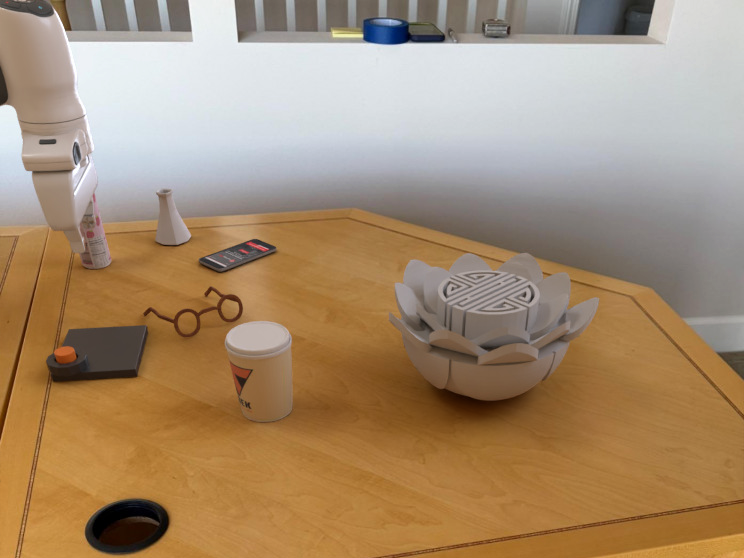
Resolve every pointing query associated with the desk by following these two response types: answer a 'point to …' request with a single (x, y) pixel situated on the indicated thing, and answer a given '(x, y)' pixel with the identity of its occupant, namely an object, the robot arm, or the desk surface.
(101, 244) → the beverage can
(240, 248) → the smartphone
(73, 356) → the power button
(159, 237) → the flask
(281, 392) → the coffee cup
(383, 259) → the desk surface
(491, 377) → the decorative bowl
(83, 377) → the scale
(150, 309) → the glasses
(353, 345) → the desk surface
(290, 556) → the desk surface
